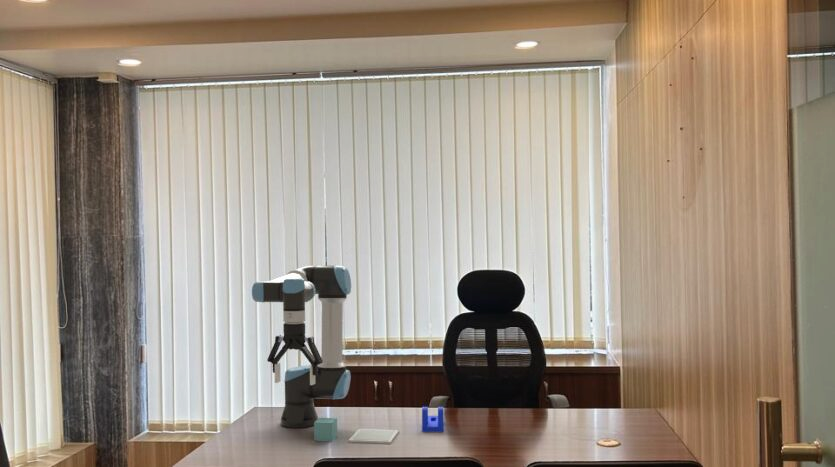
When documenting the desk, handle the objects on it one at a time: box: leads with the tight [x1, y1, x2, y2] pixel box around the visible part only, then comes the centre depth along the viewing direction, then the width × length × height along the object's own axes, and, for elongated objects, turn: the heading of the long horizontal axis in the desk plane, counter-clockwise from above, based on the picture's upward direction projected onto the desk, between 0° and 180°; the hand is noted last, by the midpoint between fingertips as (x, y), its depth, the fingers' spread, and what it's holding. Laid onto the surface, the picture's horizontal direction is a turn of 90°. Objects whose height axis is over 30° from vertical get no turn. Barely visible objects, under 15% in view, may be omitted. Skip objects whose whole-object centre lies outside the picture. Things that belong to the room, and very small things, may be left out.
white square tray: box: [348, 428, 399, 445], centre depth 295 cm, size 16×16×1 cm
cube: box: [313, 417, 338, 442], centre depth 294 cm, size 7×7×7 cm
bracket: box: [421, 406, 445, 433], centre depth 311 cm, size 18×8×9 cm, turn 177°
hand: (295, 383), depth 269 cm, fingers open, 13 cm apart
